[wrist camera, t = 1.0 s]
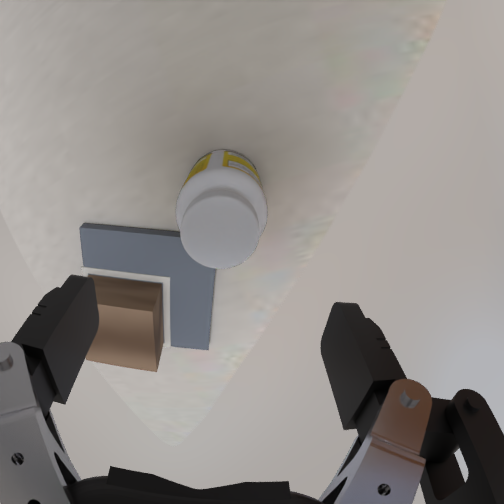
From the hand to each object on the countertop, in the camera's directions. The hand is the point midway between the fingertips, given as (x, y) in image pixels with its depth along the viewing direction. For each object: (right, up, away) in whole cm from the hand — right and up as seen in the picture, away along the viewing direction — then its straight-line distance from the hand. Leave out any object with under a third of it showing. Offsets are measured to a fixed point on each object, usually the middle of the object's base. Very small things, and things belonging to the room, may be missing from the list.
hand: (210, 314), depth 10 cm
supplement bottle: (-1, +7, +14) cm, 16 cm away
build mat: (-8, -1, +18) cm, 20 cm away
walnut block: (-10, -3, +18) cm, 21 cm away
